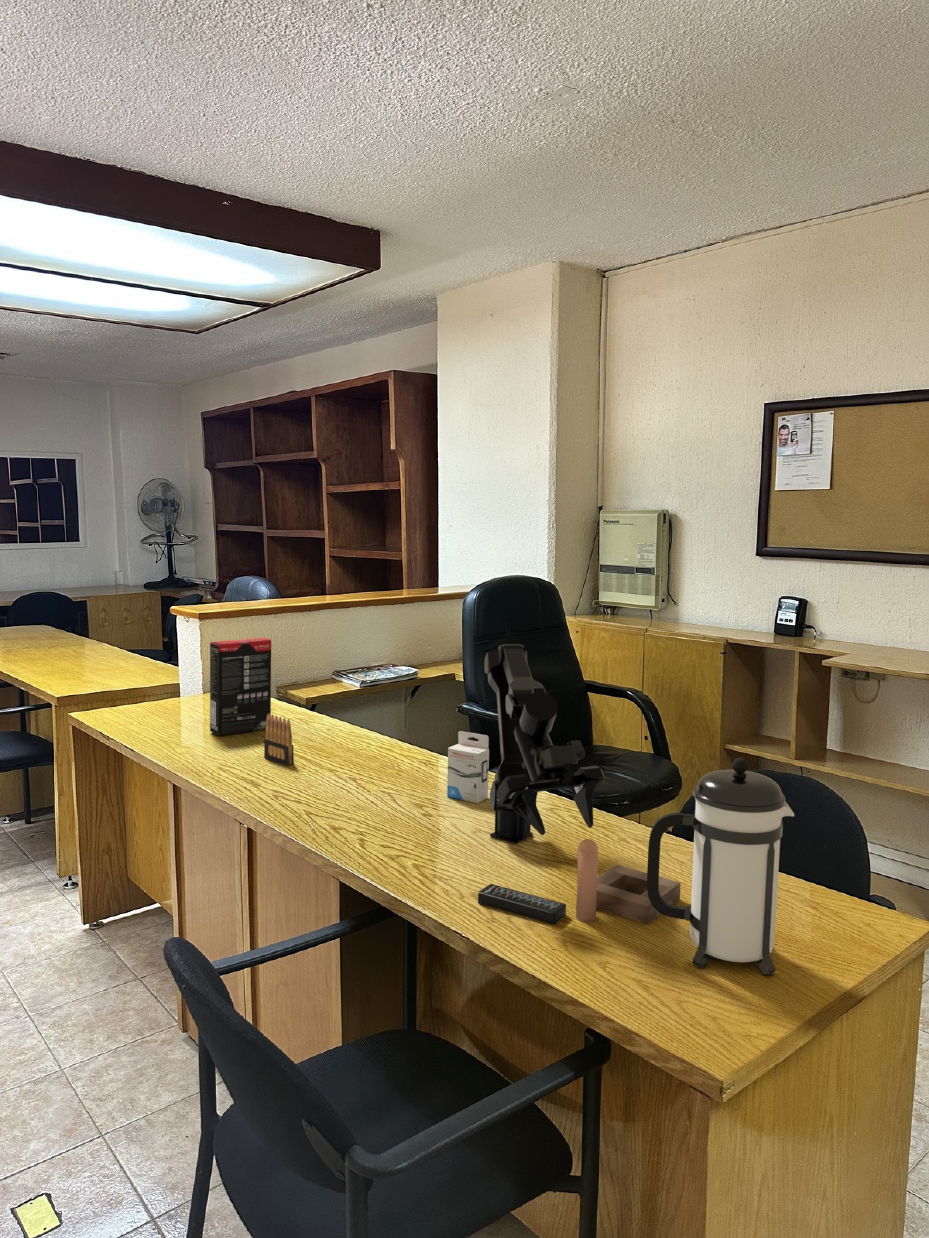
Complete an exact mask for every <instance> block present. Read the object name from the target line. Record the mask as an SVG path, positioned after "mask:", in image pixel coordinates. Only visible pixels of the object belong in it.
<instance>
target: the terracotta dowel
mask: <svg viewBox="0 0 929 1238" xmlns="http://www.w3.org/2000/svg"><path fill="white" fill-rule="evenodd" d="M598 859H599V847H598V845H597V843H596V841H594V840H593V839H589V838H586V839H583V840H581V841H580V842H579V843H578V847H577V869H576V871H577V872H576V873H577V875H576V904H575V905H576V906H575V918H576V919H577V920H578V921H581V922H587V923H589V922H593V921H595V920H596V919H597V908H596V900H597V877H598V868H599V867H598V866H599V865H598V861H599V860H598Z"/></svg>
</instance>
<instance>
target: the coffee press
mask: <svg viewBox="0 0 929 1238" xmlns="http://www.w3.org/2000/svg"><path fill="white" fill-rule="evenodd" d="M731 766H732V769H718V770H714V771H710V772H708V773H705V774H704V775H702V776H701V778H699V780H698V782H697V784H696V785H695V786H694V787H693V793H692V795H693V797H694V799H695V810H694V811H693V814H688V813H683V812H670V813H667V814H665V815H662V816H661V817H659V818H658V819H657V820H656V821H655V823H654V824H653V825H652V828H651V831H650V833H649V839H648V849H647V851H648V852H647V871H646V873H647V892H648V897H649V900H650V902H651V904H652V906H653V907H654V908H655V909H656V910H657V911H658V912H659V913H661V915H663V916H665V917H668V918H672V919H677V920H684V921H688V922H689V923H690V927H689V932H690V939H691V940H692V942H693V944H694V946H696V947H697V949H696V951H695V953H694V956H693V958H692V964H693V965H694V966H696V967H698V968H700V969H705V968H706V966H707V964H708V963H709V961H710V960H712V959H713V958H716V959H720V960H723V961H727V962H734V963H751V962H752V963H753V962H754V964H756V966H757V967H758V969H759V971H760V972H761V974H762V975H763V976H765V977H769V976H770V975H774V974H775V973H776V967H775V964H774V962H773V960H772V958H771V953H772V952H773V949H774V946H775V933H776V922H777V921H776V920H777V919H776V918H777V917H776V916H777V905H778V904H777V903H778V902H777V901H778V900H777V898H778V886H779V885H778V884H779V883H778V882H779V868H780V867H779V866H780V864H779V863H780V852H781V851H780V848H781V838H782V837H783V827H784V826H783V825H784V822H783V818H784V817H792V818H793V817H795V812H794V811H793V810H792V808H791V807H790V806H789V804H788V803H787V802H786V796H785V795H784V793H783V792H782V790H781V787H780V786H779V784H778V782H776V781H774V780H773V779H772V778H770V777H768V776H766V775H763V774H762V773H757V772H754V771H749V770H748V768H749V766H750V765H749V764H748V761H747V760H746V759H745V758H742V757H737V758H734V760H733V762H732V763H731ZM676 826H678V827H679V826H680V827H682V826H693V829H694V834H693V835H694V836H693V853H692V854H693V855H692V856H693V857H692V880H691V882H692V883H691V901H690V905H688V906H683V905H675V904H673V905H670V904H668V903H666V902H665V901H664V900H663V899H662V898H661V896H660V894H659V877H660V859H661V857H660V856H661V841H662V837H663V835H664V834H665V832H667V830H668V829H669V828H673V827H676ZM762 959H763V960H762Z"/></svg>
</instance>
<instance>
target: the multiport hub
mask: <svg viewBox="0 0 929 1238" xmlns="http://www.w3.org/2000/svg"><path fill="white" fill-rule="evenodd" d="M477 893H478V894H477V904H480V905H483V906H485V907H486V906H487V907H489V908H493V909H496V910H500V911H503V912H507V913H511V914H514V915H517V916H521V917H523V918H524V917H525V918H528V919H532V920H534V921H539V922H543V923H546V924H548V925H552V926H553V925H557V924H558V923H559V922H561V921H562V919H564V918H566V916H567V904H566V903H564V902H560V901H556V900H553V899H548V898H545V897H542V896H538V895H535V894H534V895H533V894H531V893H527V892H523V891H519V890H516V889H512V888H508V887H504V886H501V885H497V884H494V883H489V884H488V885H487V886H485V887H483V888H482V889H480V890H479V891H478V892H477Z"/></svg>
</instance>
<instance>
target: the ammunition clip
mask: <svg viewBox="0 0 929 1238" xmlns="http://www.w3.org/2000/svg"><path fill="white" fill-rule="evenodd" d="M263 742H264V749H263V750H264V753H263V754H264V757H263V758H264V759H266V760H269V761H271V762H275V763H279V764H281V765H284V766H286V767H289V766H293V765H295V761H294V760H295V759H294V756H295V755H294V754H295V753H294V744H293V743H292V742H293V735H292V726H291V720H290V718H288V719H287V720H286V717H284V718H282V717H281V716H279V718H278V715H275V716H274V714H272V713H271V718H270V715H269V713H268V715H267V720H266V729H265V738H264V741H263Z"/></svg>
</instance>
